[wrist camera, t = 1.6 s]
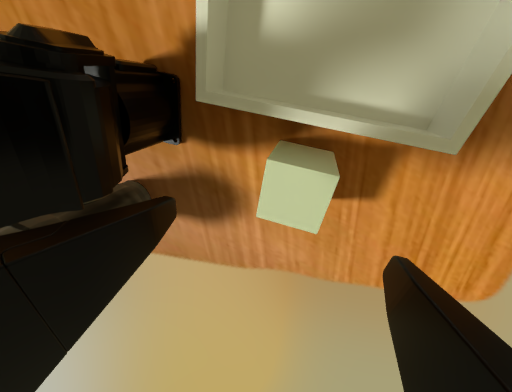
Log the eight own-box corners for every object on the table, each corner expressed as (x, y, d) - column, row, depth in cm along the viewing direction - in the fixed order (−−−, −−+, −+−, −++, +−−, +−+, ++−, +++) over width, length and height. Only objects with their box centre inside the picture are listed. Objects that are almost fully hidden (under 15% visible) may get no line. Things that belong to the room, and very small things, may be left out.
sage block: (316, 198, 21) (316, 234, 16) (270, 186, 22) (256, 216, 17) (333, 151, 19) (340, 176, 13) (280, 139, 19) (266, 159, 14)
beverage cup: (170, 207, 27) (-82, 416, 10) (139, 224, 30) (-90, 404, 13) (132, 160, 25) (-267, 321, 8) (103, 184, 28) (-222, 335, 11)
